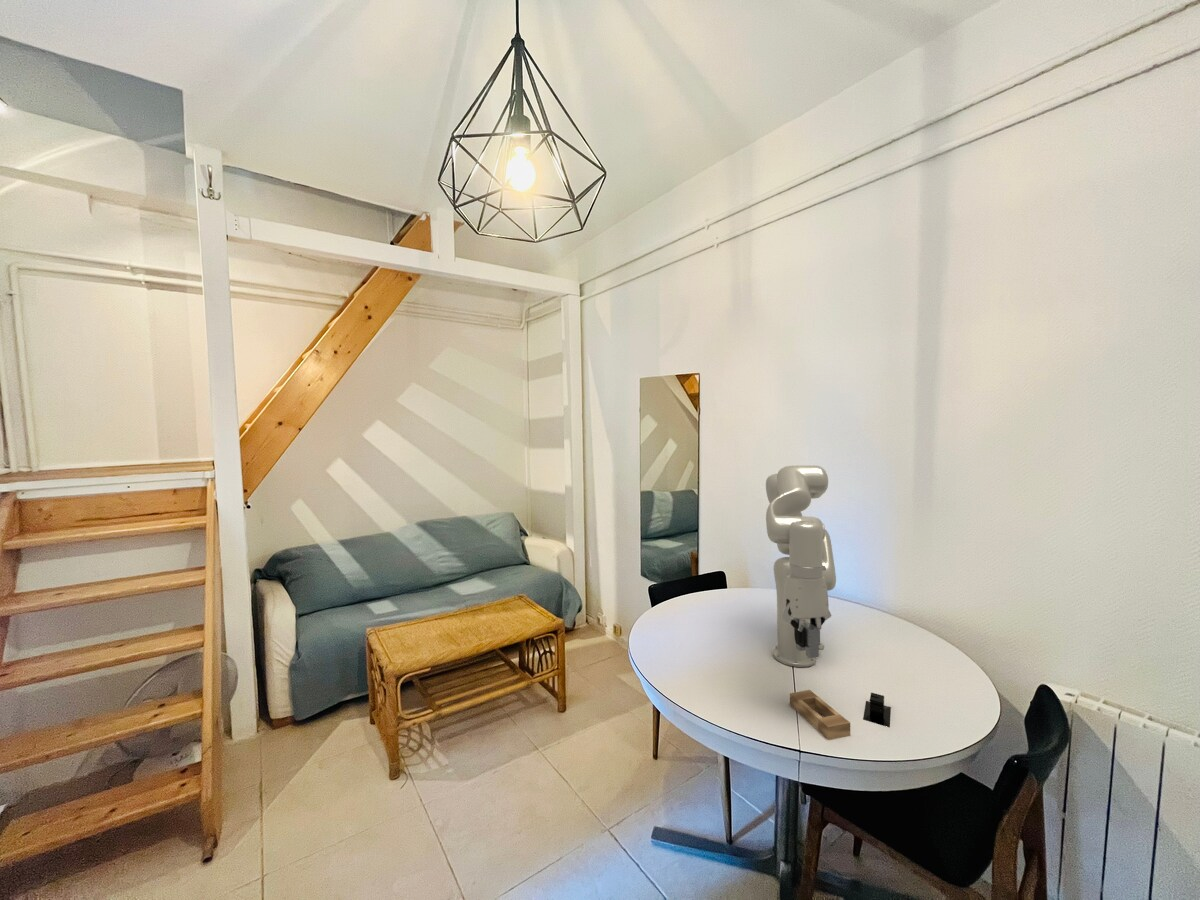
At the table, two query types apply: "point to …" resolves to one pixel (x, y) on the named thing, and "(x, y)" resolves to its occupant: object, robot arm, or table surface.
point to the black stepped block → (877, 710)
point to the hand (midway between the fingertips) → (806, 643)
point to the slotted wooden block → (827, 725)
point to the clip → (810, 640)
